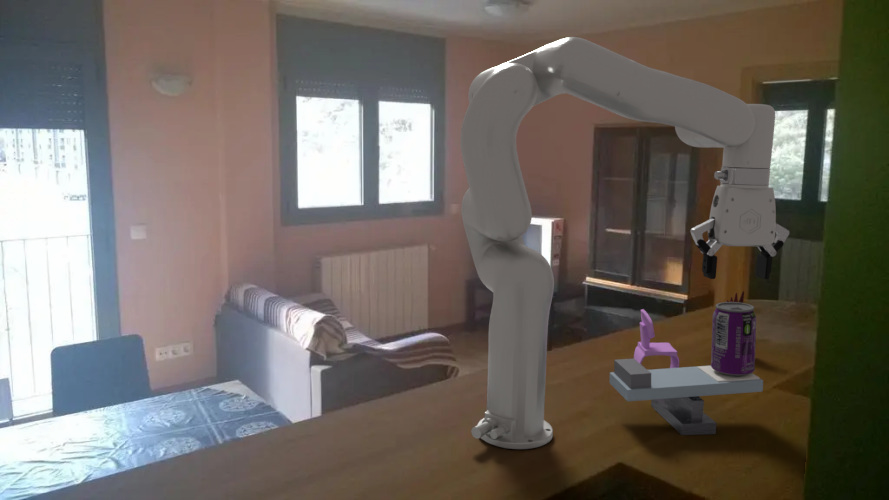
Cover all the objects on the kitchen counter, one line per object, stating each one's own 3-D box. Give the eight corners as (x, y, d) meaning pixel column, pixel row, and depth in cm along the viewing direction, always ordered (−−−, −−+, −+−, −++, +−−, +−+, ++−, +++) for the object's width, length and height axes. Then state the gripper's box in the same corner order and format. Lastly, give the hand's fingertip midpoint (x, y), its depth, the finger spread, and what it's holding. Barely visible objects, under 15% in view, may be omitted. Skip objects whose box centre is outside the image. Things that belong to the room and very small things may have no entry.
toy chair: (680, 389, 139) (685, 316, 137) (635, 387, 139) (640, 314, 137) (668, 375, 147) (673, 306, 145) (626, 373, 147) (630, 305, 145)
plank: (627, 401, 117) (627, 375, 116) (609, 382, 126) (609, 359, 125) (762, 391, 119) (763, 366, 119) (735, 374, 128) (736, 350, 127)
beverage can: (758, 379, 119) (761, 311, 117) (714, 378, 120) (716, 310, 118) (749, 366, 126) (751, 301, 124) (707, 364, 127) (709, 300, 125)
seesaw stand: (681, 435, 117) (683, 403, 116) (650, 405, 130) (652, 377, 129) (715, 434, 117) (718, 402, 116) (681, 405, 130) (683, 376, 129)
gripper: (706, 178, 113) (698, 281, 116) (806, 180, 115) (795, 282, 117) (686, 176, 120) (678, 273, 123) (780, 178, 122) (770, 273, 125)
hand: (735, 277), depth 120 cm, fingers open, 9 cm apart
